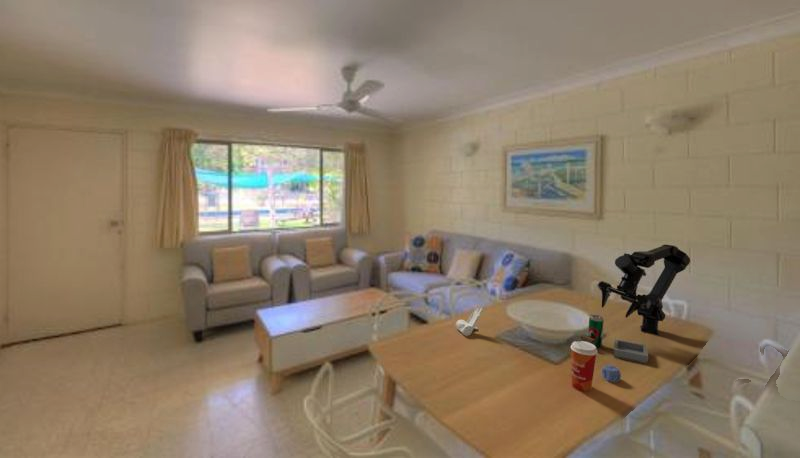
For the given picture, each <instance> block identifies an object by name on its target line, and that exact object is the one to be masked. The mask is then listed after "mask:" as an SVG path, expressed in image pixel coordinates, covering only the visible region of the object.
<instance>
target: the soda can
mask: <svg viewBox="0 0 800 458" xmlns="http://www.w3.org/2000/svg"><path fill="white" fill-rule="evenodd" d="M603 318H604V317H603V316H601V315H598V314H590V316H589V318H588V330H587V336H589V337H591V338H593V339H595V346H596V348H601V347H602V345H603V336H604V335H603V331H604V319H603Z"/></svg>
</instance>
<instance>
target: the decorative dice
mask: <svg viewBox="0 0 800 458" xmlns="http://www.w3.org/2000/svg"><path fill="white" fill-rule="evenodd" d="M601 374H602V378H603V379H604V380H606V381H608V382H610V383H617V382H619V381H620V379H621V377H622V375H621V371H620V369H619V368H618V367H617V366H614V365H610V364H607V365H606V364H605V365H604V366H603V367H602V368H601Z"/></svg>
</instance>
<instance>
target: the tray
mask: <svg viewBox="0 0 800 458" xmlns="http://www.w3.org/2000/svg"><path fill="white" fill-rule="evenodd" d="M613 358H618V359H621V360H627V361H631V362H635V363H640V364H645V365H648V364H649V353H648V347H647V344H643V343H638V342H632V341H627V340H623V339H617V338H614V344H613Z"/></svg>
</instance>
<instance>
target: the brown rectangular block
mask: <svg viewBox="0 0 800 458" xmlns="http://www.w3.org/2000/svg"><path fill="white" fill-rule="evenodd" d="M579 341H580V342H581V341H585V342H589V343H591V344H593V345H595V339H593V338H591V337H589V336H588V335H586V334H581V335H580V340H579Z"/></svg>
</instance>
